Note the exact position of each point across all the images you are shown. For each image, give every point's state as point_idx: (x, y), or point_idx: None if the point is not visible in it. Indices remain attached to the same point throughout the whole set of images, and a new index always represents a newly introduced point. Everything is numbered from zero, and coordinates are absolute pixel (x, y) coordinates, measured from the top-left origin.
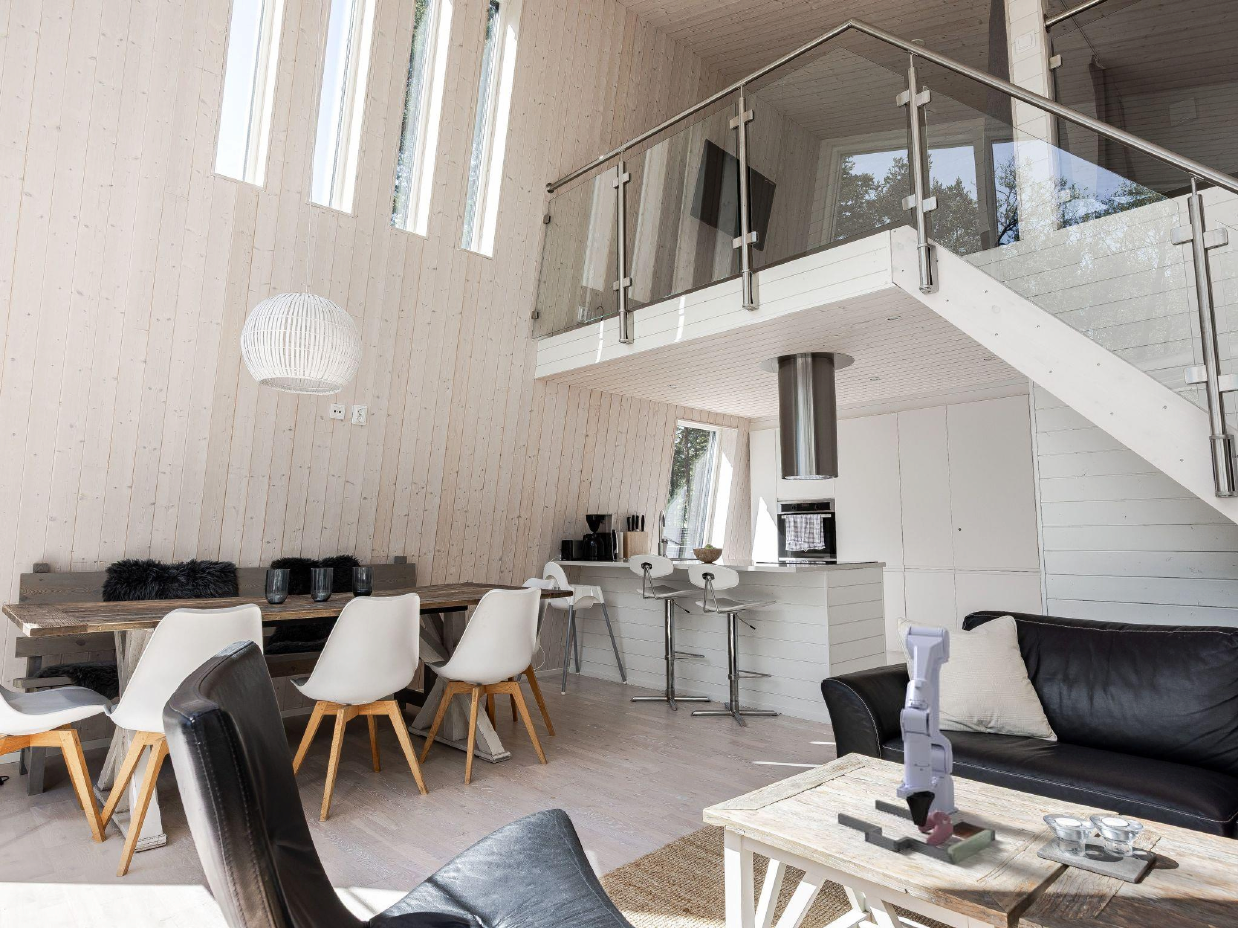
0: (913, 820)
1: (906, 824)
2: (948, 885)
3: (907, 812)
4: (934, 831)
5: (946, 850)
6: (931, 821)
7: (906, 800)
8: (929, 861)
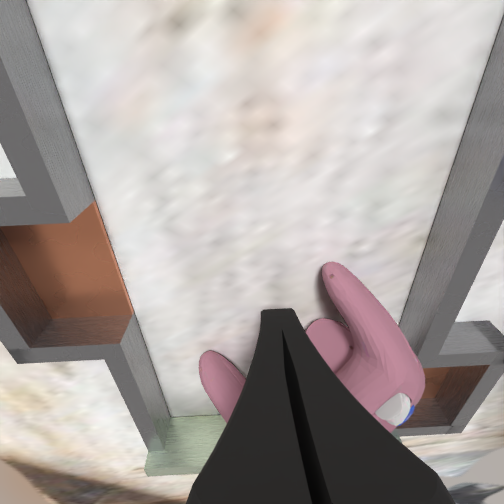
0: (260, 325)
1: (374, 168)
2: (47, 460)
3: (501, 129)
4: (226, 411)
5: (159, 443)
6: (355, 343)
7: (217, 444)
8: (108, 397)
